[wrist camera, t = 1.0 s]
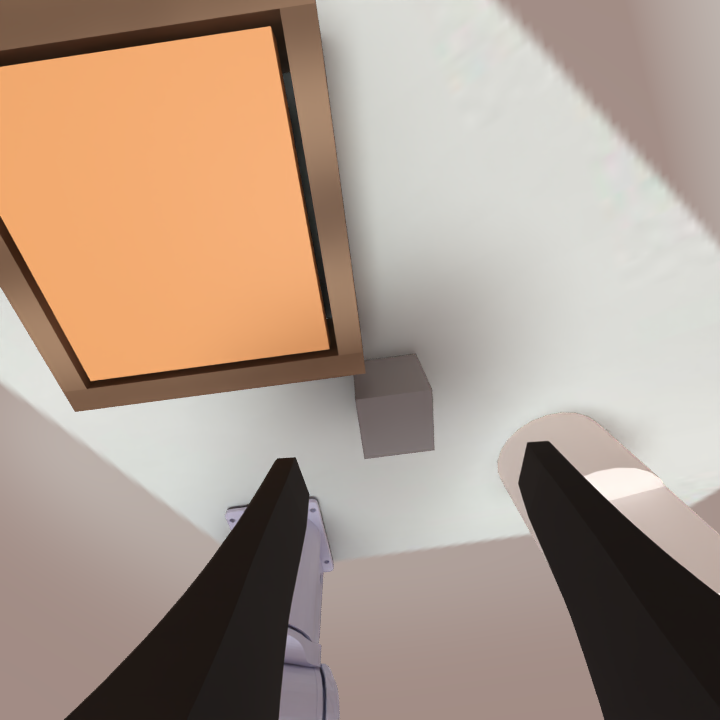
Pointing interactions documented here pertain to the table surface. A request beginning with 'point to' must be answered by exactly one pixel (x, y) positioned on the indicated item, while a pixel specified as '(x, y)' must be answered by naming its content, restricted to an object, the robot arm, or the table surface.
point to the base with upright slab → (618, 489)
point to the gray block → (394, 407)
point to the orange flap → (162, 203)
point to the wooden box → (306, 63)
